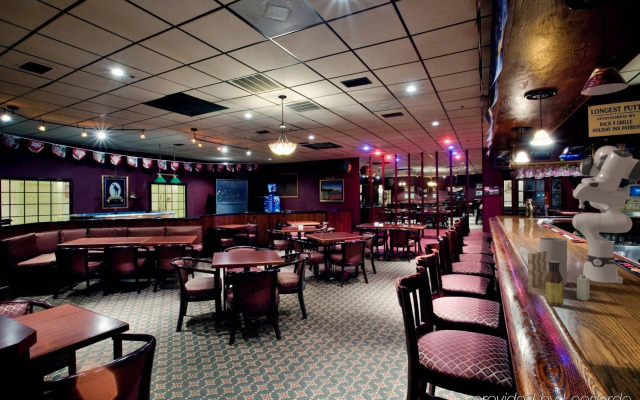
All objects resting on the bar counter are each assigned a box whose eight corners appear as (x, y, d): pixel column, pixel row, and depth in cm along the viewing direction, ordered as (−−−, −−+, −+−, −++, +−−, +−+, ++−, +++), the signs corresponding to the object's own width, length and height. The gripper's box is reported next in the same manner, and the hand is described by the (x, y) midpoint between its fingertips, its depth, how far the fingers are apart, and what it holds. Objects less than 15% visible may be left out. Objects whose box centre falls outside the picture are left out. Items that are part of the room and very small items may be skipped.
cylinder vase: (543, 284, 174) (543, 240, 173) (537, 279, 185) (537, 237, 185) (570, 287, 169) (570, 241, 169) (562, 281, 181) (562, 238, 180)
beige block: (580, 297, 153) (580, 273, 153) (589, 298, 150) (589, 275, 150) (576, 299, 150) (576, 275, 150) (586, 301, 147) (586, 276, 147)
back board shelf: (542, 286, 171) (542, 249, 171) (564, 290, 163) (564, 252, 163) (527, 292, 161) (527, 253, 161) (550, 297, 153) (550, 256, 152)
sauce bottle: (566, 307, 139) (566, 263, 139) (550, 306, 140) (550, 262, 140) (558, 302, 146) (558, 260, 145) (543, 301, 147) (543, 259, 147)
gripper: (627, 187, 149) (612, 212, 155) (578, 178, 154) (566, 203, 159) (635, 191, 143) (619, 218, 149) (584, 182, 148) (571, 208, 154)
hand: (591, 210), depth 154 cm, fingers open, 8 cm apart
